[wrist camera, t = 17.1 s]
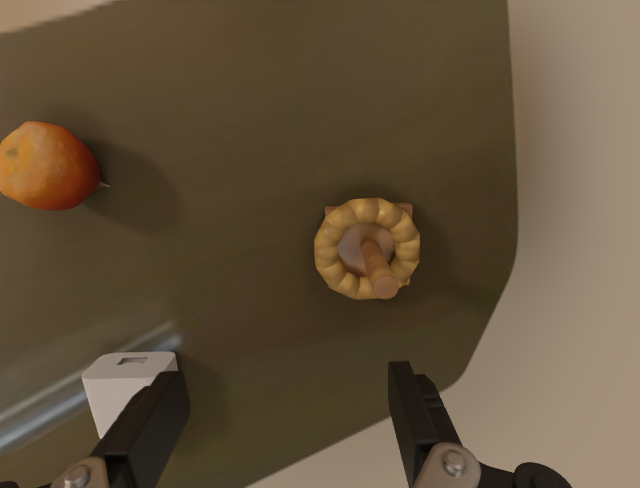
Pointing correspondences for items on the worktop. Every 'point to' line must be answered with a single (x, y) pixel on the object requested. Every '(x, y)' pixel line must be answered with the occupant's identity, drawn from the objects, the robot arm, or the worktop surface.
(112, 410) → the charger
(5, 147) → the fruit
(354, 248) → the wooden peg stand
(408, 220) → the ring
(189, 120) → the worktop surface
